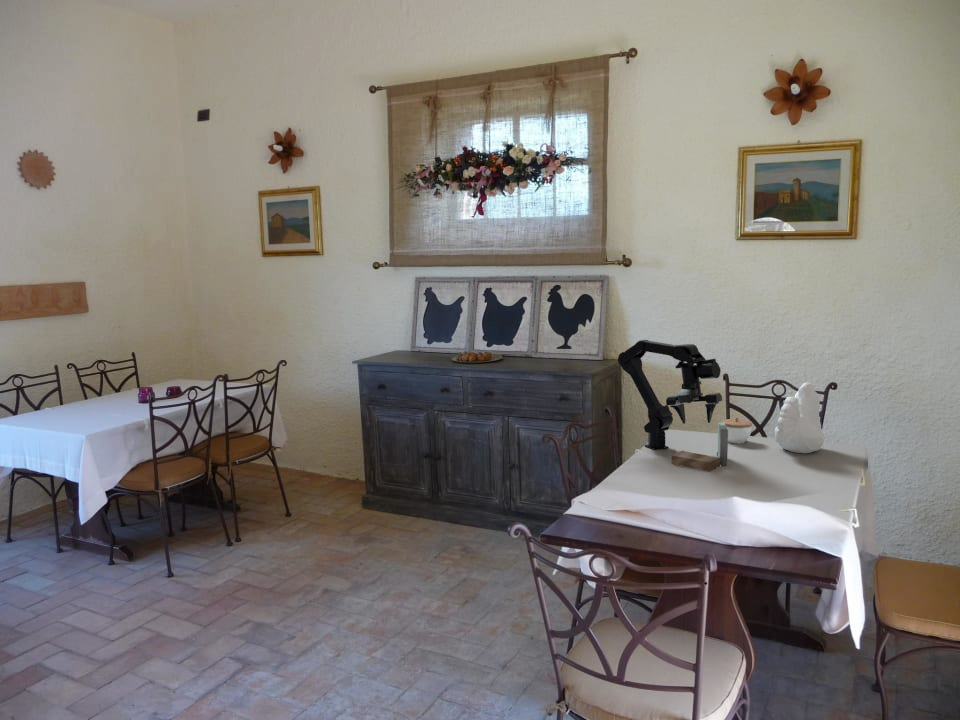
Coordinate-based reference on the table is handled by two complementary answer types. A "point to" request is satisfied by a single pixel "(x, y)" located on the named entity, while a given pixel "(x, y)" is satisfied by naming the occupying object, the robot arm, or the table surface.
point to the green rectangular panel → (722, 443)
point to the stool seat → (695, 460)
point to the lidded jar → (738, 430)
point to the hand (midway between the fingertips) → (696, 423)
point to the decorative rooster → (800, 422)
